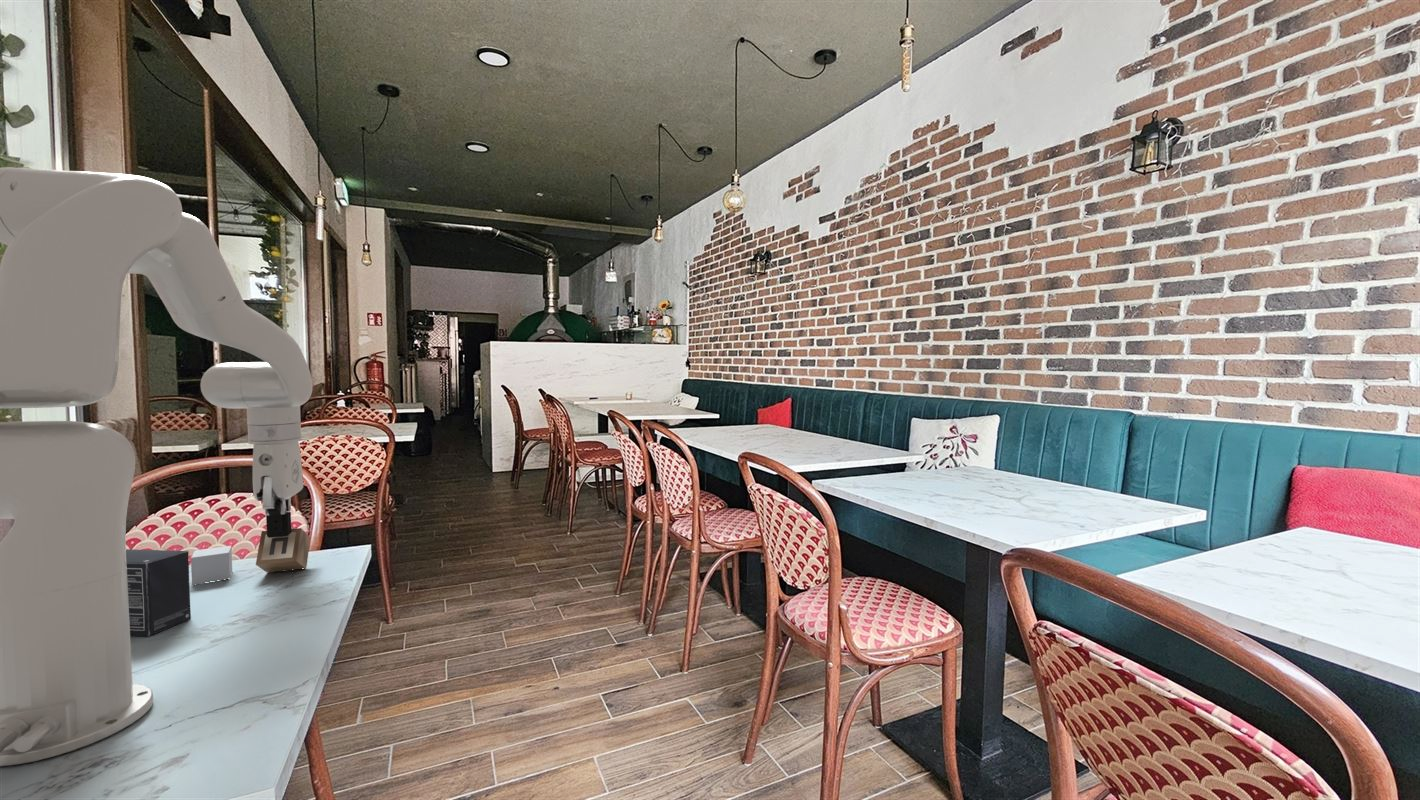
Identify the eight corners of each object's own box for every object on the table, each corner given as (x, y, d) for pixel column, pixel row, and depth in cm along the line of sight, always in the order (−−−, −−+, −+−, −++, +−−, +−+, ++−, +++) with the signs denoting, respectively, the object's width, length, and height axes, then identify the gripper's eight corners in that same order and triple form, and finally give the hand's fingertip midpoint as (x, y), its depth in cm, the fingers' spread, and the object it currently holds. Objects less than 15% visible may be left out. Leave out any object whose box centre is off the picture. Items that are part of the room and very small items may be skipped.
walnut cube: (301, 528, 106) (310, 537, 111) (261, 531, 104) (273, 540, 109) (296, 560, 103) (306, 569, 108) (255, 564, 101) (267, 572, 106)
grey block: (229, 580, 102) (228, 552, 102) (192, 586, 99) (190, 557, 99) (232, 572, 106) (231, 545, 106) (196, 578, 103) (195, 550, 103)
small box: (195, 618, 86) (192, 548, 86) (149, 638, 80) (145, 563, 79) (131, 615, 87) (128, 546, 87) (81, 634, 81) (77, 560, 80)
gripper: (285, 437, 96) (290, 546, 98) (312, 428, 111) (316, 522, 112) (230, 439, 94) (236, 550, 95) (265, 429, 108) (269, 526, 109)
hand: (279, 535), depth 103 cm, fingers closed
